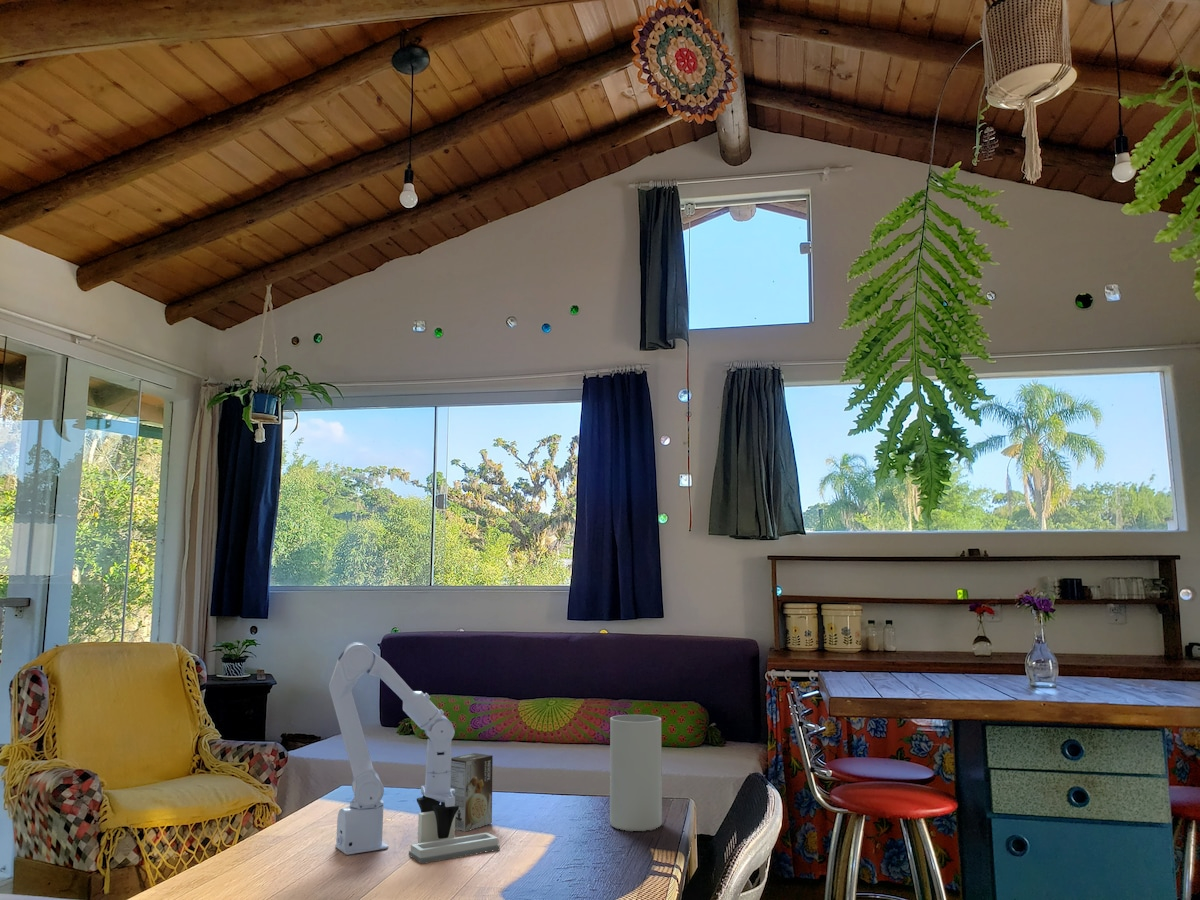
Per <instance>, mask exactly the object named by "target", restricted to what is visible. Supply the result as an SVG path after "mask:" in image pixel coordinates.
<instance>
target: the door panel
mask: <svg viewBox="0 0 1200 900" xmlns="http://www.w3.org/2000/svg"><path fill="white" fill-rule="evenodd" d="M417 819H418V820H417V822H418V823H417V824H418V825H417V844H418V843H425V842H431V841H437V840H443V839H450V838H456V836H455V831H456V830H455V816H454V818H453V821H452V824H451V828H450V832H449V836H448V838H443V839H439V838H438V833H437V821H436V816H435V813H434V811H430V812H422V813H421V812H418V818H417Z"/></svg>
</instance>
